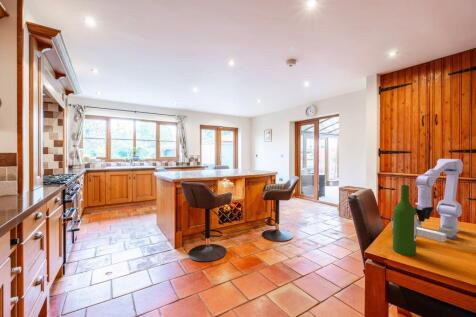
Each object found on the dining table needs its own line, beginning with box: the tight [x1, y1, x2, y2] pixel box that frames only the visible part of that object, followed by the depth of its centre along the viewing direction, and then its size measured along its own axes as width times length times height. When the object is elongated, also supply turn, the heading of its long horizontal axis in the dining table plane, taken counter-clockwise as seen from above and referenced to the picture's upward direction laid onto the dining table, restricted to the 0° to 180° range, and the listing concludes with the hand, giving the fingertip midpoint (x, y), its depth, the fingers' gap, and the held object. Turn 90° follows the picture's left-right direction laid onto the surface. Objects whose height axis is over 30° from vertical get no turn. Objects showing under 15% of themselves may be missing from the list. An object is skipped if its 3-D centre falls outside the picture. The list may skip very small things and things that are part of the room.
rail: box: [416, 227, 447, 243], centre depth 121 cm, size 4×18×4 cm, turn 33°
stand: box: [417, 218, 458, 241], centre depth 126 cm, size 8×22×6 cm, turn 32°
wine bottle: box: [392, 184, 418, 257], centre depth 101 cm, size 9×9×32 cm
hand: (424, 220), depth 121 cm, fingers open, 7 cm apart
